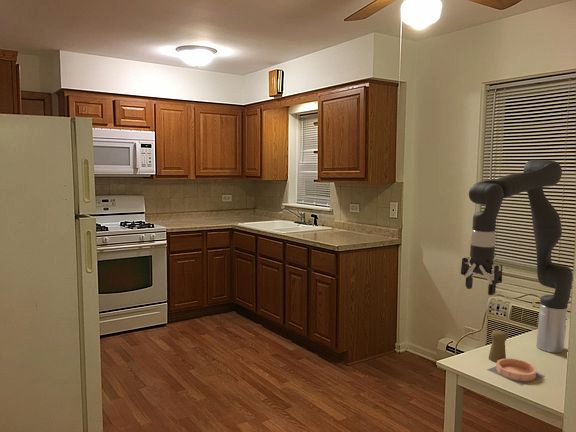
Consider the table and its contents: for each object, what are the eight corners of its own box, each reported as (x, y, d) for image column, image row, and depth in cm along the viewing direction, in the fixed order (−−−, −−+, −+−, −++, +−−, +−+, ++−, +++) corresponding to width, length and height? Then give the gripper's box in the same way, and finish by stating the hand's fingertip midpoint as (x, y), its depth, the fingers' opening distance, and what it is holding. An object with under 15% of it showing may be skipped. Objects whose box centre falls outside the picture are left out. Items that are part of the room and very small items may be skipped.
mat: (510, 362, 173) (510, 361, 173) (544, 377, 162) (545, 376, 162) (486, 370, 166) (487, 369, 166) (521, 386, 155) (521, 385, 155)
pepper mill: (508, 364, 171) (510, 335, 170) (490, 363, 172) (492, 333, 171) (504, 357, 177) (506, 329, 176) (486, 356, 178) (488, 327, 177)
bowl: (510, 362, 172) (511, 355, 172) (543, 376, 162) (543, 369, 162) (488, 369, 166) (489, 363, 166) (521, 384, 156) (521, 377, 156)
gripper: (509, 246, 153) (506, 295, 155) (472, 239, 165) (469, 284, 168) (494, 248, 149) (491, 299, 152) (457, 241, 162) (454, 287, 164)
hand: (479, 291), depth 160 cm, fingers open, 8 cm apart
